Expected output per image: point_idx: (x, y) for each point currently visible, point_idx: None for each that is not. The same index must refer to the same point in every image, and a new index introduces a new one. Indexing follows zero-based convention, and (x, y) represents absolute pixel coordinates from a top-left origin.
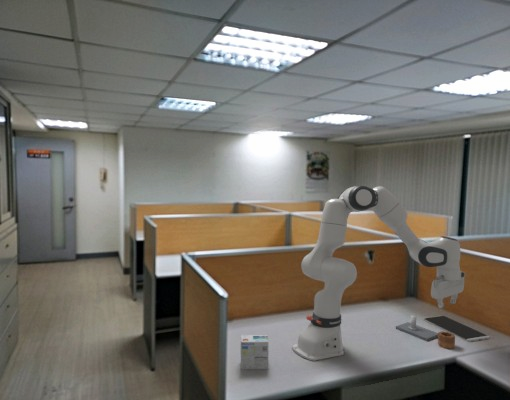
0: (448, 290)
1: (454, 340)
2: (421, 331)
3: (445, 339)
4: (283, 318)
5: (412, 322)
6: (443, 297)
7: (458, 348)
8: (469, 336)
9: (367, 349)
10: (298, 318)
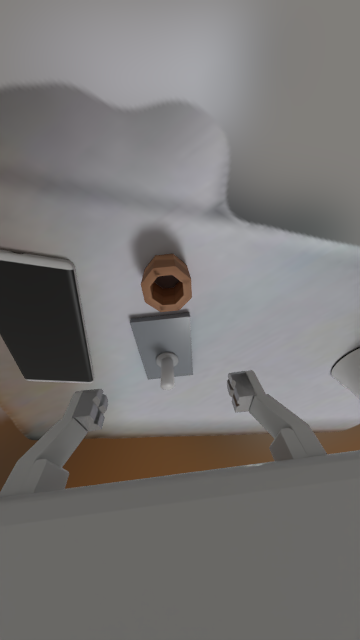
0: (271, 621)
1: (156, 263)
2: (164, 344)
3: (189, 275)
4: None
5: (173, 371)
6: (342, 468)
7: (147, 246)
8: (45, 278)
9: (331, 333)
10: None
